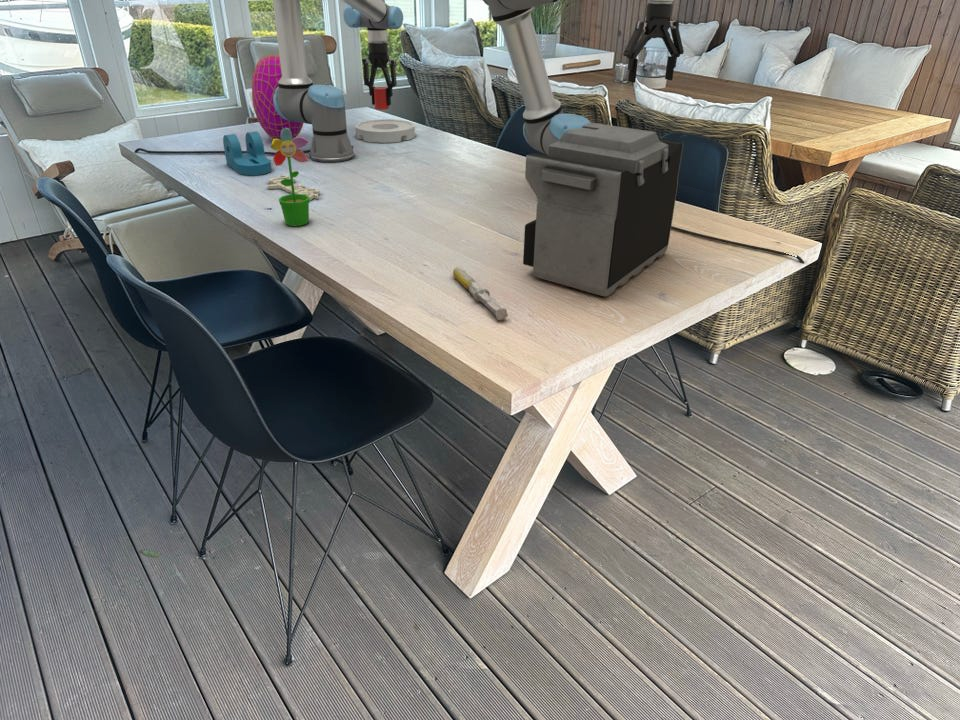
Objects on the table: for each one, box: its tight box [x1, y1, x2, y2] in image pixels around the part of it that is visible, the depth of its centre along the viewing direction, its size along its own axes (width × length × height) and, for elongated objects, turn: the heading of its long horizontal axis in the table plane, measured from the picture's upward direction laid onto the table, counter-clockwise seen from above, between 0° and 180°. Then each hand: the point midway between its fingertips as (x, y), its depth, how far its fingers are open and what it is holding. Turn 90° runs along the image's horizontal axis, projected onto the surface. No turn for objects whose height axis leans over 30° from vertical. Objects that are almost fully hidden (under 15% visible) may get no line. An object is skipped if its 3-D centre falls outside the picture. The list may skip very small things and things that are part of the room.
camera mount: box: [222, 131, 272, 176], centre depth 226 cm, size 18×10×10 cm, turn 35°
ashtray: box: [355, 118, 416, 144], centre depth 271 cm, size 23×23×4 cm
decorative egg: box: [251, 54, 304, 141], centre depth 257 cm, size 19×19×30 cm
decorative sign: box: [267, 174, 321, 201], centre depth 209 cm, size 26×1×10 cm
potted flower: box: [270, 128, 310, 227], centre depth 177 cm, size 9×8×25 cm
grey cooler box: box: [522, 122, 685, 297], centre depth 153 cm, size 37×22×30 cm, turn 144°
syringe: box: [452, 266, 509, 321], centre depth 145 cm, size 25×4×3 cm, turn 21°
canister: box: [374, 86, 390, 111], centre depth 277 cm, size 6×6×8 cm
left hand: (381, 104), depth 278 cm, fingers closed on canister, 6 cm apart
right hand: (650, 80), depth 210 cm, fingers open, 13 cm apart
